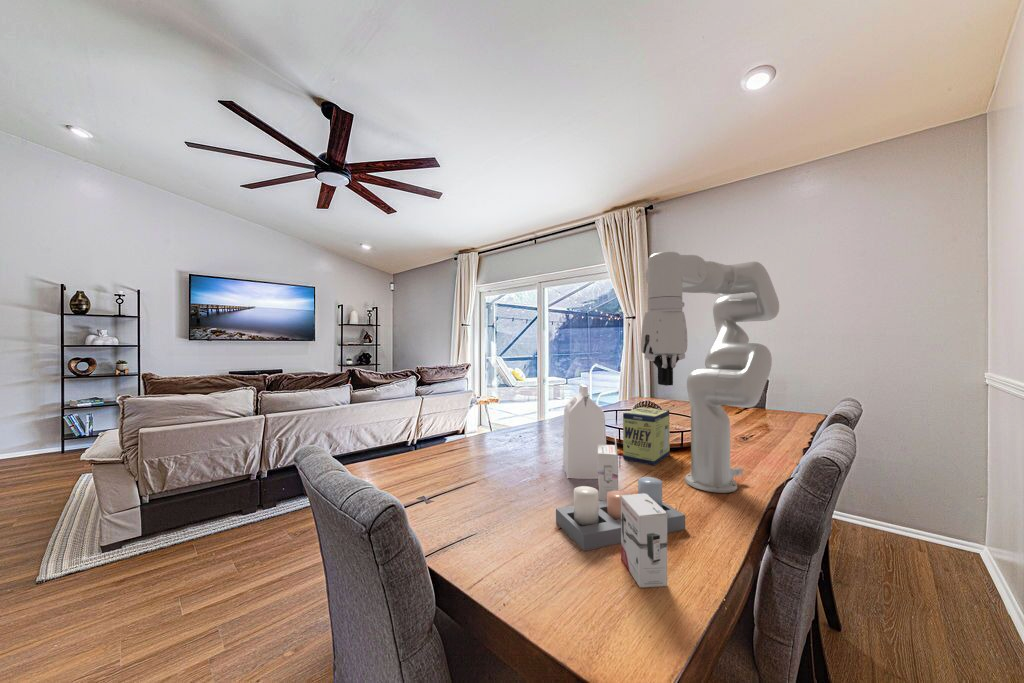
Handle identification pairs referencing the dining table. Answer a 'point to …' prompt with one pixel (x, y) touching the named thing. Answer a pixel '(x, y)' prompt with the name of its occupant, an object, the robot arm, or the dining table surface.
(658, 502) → the button slate
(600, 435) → the milk
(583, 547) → the gray compartment tray
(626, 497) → the ink box
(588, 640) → the dining table surface
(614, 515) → the peach cylinder
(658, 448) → the protein box
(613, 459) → the ink cartridge box
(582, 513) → the button cream
